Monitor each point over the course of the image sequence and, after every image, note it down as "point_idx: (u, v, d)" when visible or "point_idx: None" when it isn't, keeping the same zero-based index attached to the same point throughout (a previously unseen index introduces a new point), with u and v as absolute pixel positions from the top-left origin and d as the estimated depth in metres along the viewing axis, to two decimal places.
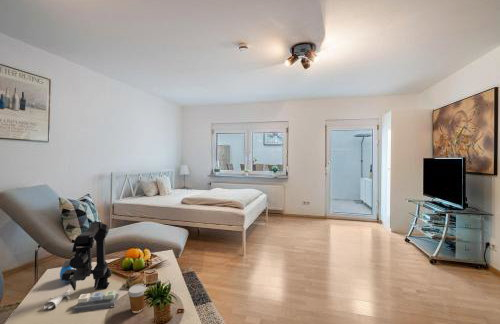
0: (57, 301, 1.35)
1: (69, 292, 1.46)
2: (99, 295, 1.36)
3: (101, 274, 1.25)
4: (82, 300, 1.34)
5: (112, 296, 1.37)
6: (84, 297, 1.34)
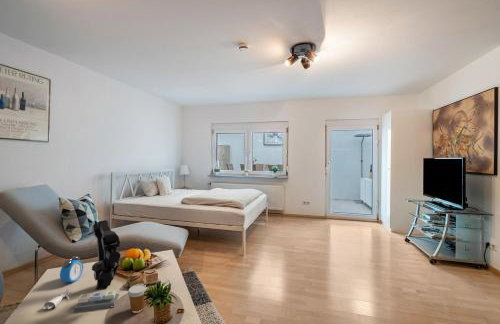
0: (57, 301, 1.34)
1: (69, 292, 1.46)
2: (99, 295, 1.36)
3: None
4: (82, 300, 1.34)
5: (112, 296, 1.37)
6: (84, 297, 1.34)
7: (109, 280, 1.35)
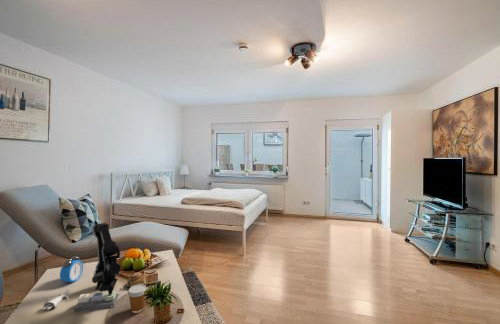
0: (56, 302, 1.34)
1: (68, 292, 1.46)
2: (99, 295, 1.36)
3: None
4: (82, 300, 1.34)
5: (112, 298, 1.38)
6: (84, 297, 1.34)
7: None
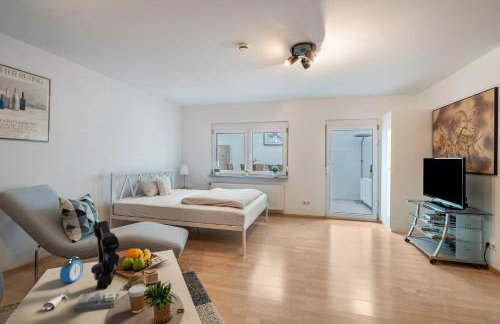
0: (56, 302, 1.34)
1: (68, 293, 1.45)
2: (99, 295, 1.36)
3: None
4: (82, 300, 1.34)
5: (112, 298, 1.38)
6: (84, 297, 1.34)
7: (110, 279, 1.37)
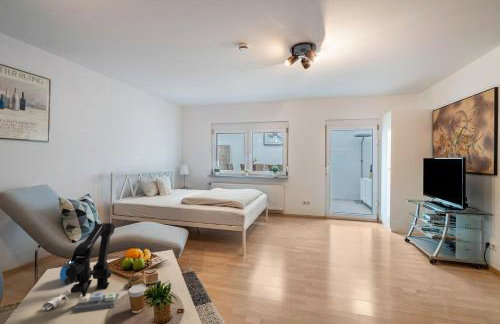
0: (56, 302, 1.34)
1: (68, 293, 1.45)
2: (99, 295, 1.36)
3: None
4: (82, 300, 1.34)
5: (112, 298, 1.38)
6: (84, 297, 1.34)
7: (84, 290, 1.34)
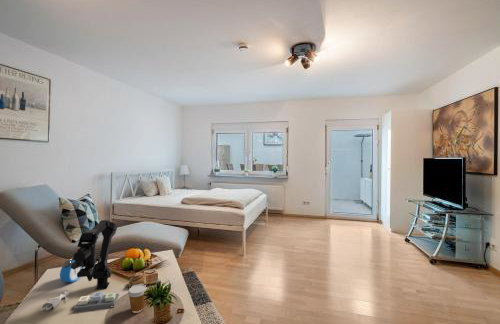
0: (55, 302, 1.33)
1: (67, 293, 1.45)
2: (99, 295, 1.36)
3: None
4: (82, 302, 1.34)
5: (112, 298, 1.38)
6: (84, 299, 1.34)
7: (90, 275, 1.38)
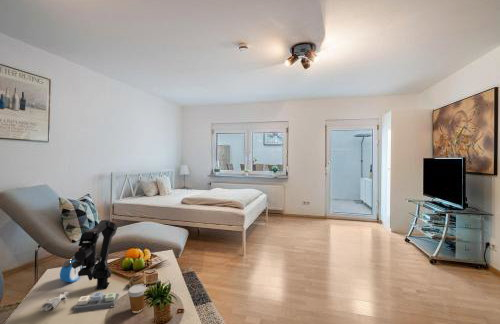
0: (55, 303, 1.33)
1: (67, 293, 1.45)
2: (99, 295, 1.36)
3: None
4: (82, 302, 1.34)
5: (112, 298, 1.38)
6: (84, 299, 1.34)
7: (91, 274, 1.38)
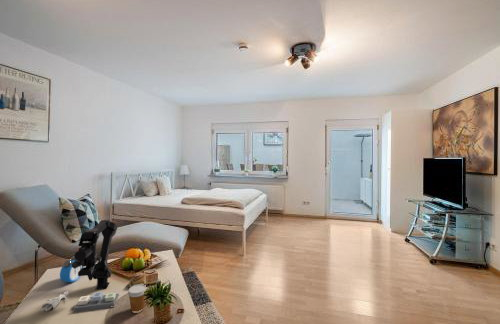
0: (55, 303, 1.33)
1: (67, 293, 1.44)
2: (99, 295, 1.36)
3: None
4: (82, 302, 1.34)
5: (112, 298, 1.38)
6: (84, 299, 1.34)
7: (91, 274, 1.38)
